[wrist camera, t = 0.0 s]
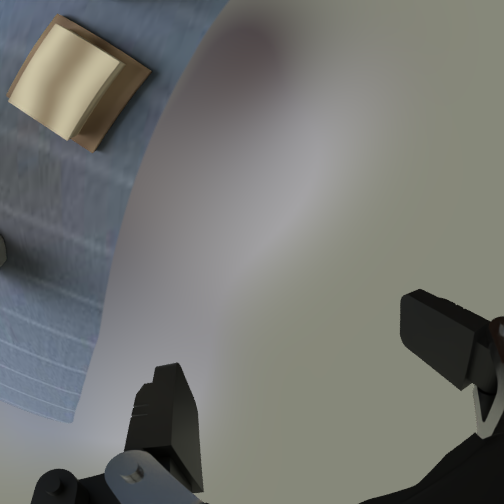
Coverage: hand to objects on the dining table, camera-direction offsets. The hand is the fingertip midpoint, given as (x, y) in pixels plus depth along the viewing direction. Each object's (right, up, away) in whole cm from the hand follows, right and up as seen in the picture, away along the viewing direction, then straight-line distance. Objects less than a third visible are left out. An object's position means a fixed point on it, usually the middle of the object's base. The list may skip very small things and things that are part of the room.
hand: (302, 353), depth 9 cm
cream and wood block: (-23, +24, +16) cm, 37 cm away
